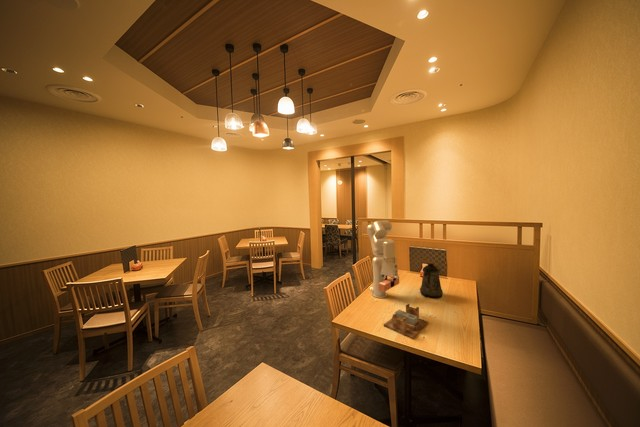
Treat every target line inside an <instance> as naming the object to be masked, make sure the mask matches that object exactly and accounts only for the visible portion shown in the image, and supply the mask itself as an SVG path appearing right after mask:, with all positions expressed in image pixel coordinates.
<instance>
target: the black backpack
mask: <svg viewBox="0 0 640 427" xmlns="http://www.w3.org/2000/svg"><path fill="white" fill-rule="evenodd" d="M422 272H423V273H422V280H421V285H420V288H419V291H420V295H421V296H423V297H424V298H428V299H433V300H437V299H442V298H443V294H444V292H443V289H442V285H441V279H440V269H439V268H438V267H437V266H435V264H434V263H427V265H426V266H424V267H423V268H422Z"/></svg>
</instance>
